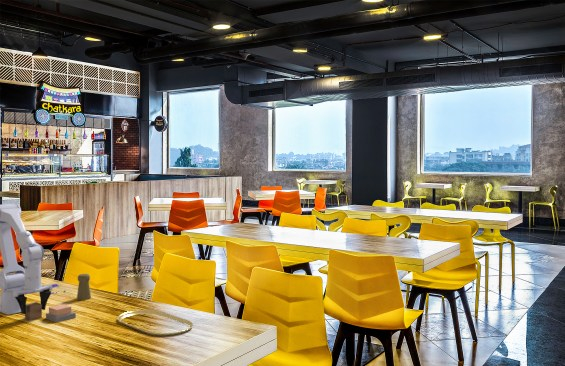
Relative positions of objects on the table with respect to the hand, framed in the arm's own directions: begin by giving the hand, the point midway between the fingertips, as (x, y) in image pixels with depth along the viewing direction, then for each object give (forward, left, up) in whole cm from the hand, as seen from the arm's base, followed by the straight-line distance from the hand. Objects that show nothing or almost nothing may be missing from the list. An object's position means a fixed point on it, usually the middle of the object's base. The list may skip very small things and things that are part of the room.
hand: (33, 311), depth 210 cm
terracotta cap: (+8, +7, -1) cm, 10 cm away
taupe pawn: (-13, +29, -3) cm, 32 cm away
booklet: (-37, +26, -3) cm, 45 cm away
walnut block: (0, 0, -3) cm, 3 cm away
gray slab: (+8, +7, -3) cm, 11 cm away
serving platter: (+41, +27, -3) cm, 49 cm away
